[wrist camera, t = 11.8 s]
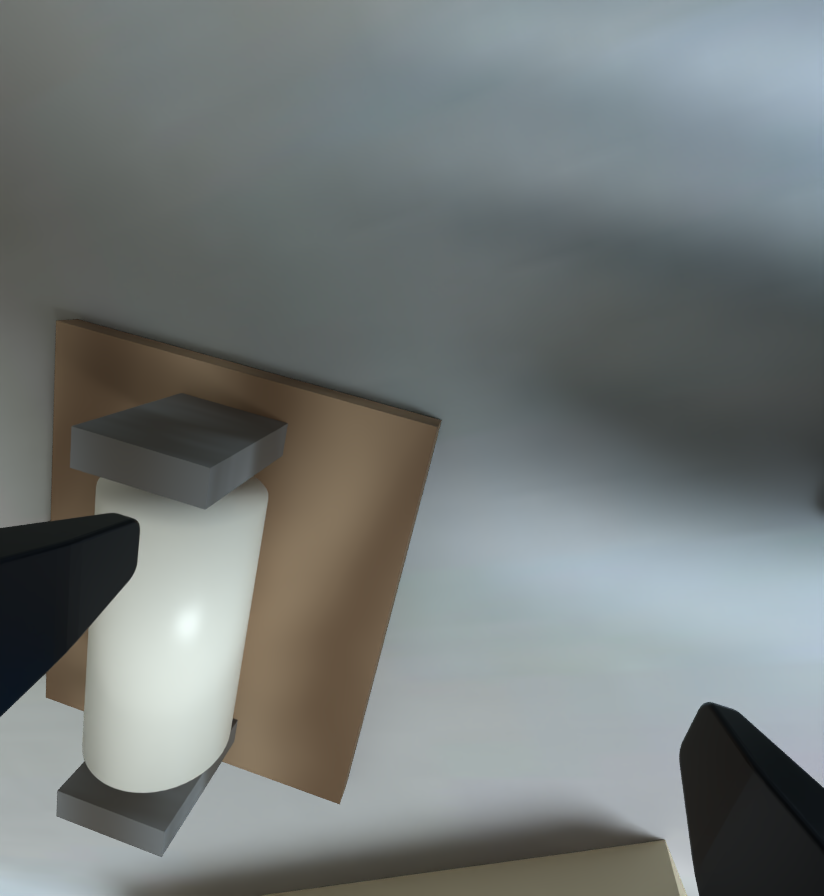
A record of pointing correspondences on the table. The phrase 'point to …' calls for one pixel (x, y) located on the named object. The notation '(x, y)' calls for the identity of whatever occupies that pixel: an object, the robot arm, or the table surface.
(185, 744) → the cylinder
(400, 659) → the table surface
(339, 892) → the book
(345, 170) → the table surface
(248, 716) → the roll holder
